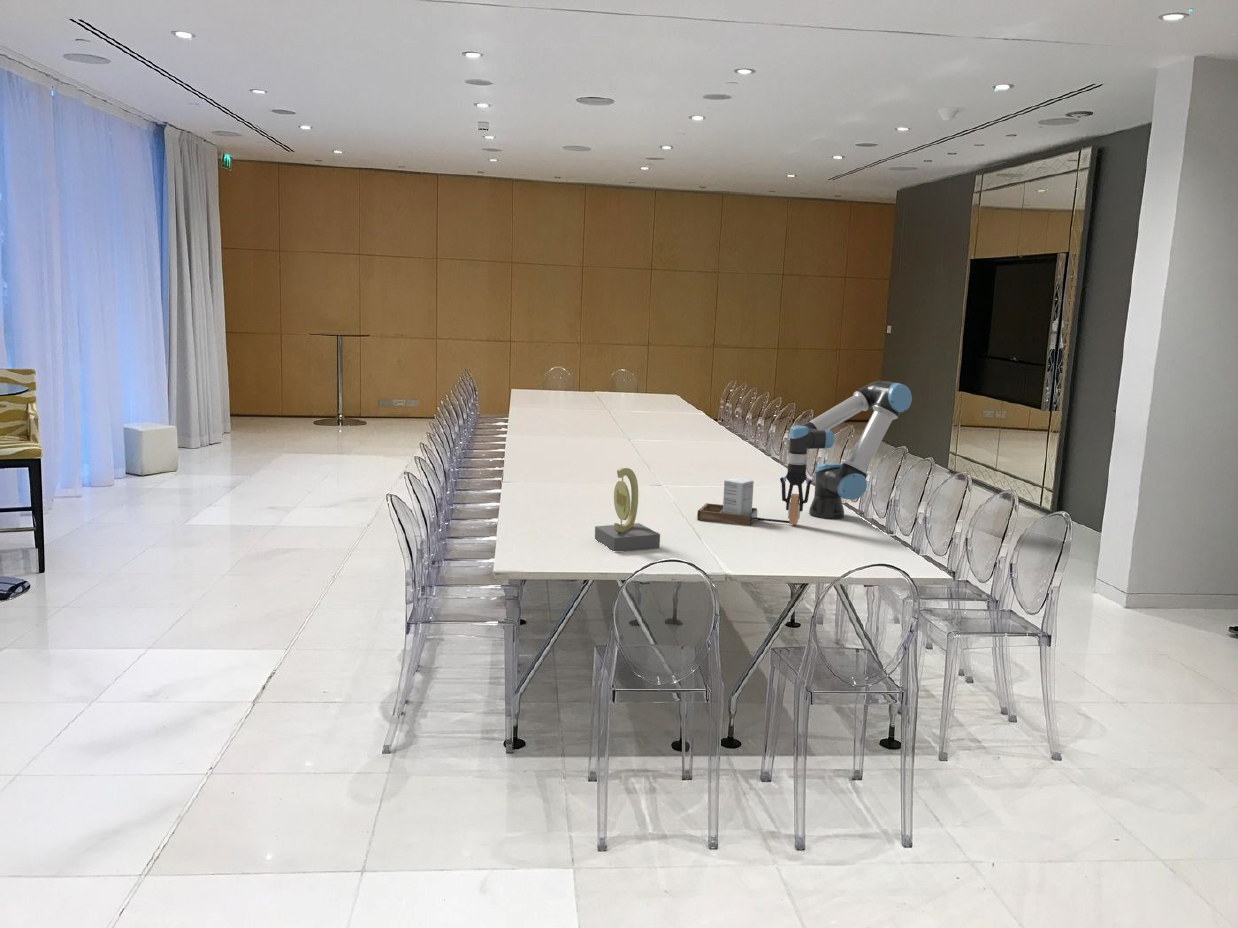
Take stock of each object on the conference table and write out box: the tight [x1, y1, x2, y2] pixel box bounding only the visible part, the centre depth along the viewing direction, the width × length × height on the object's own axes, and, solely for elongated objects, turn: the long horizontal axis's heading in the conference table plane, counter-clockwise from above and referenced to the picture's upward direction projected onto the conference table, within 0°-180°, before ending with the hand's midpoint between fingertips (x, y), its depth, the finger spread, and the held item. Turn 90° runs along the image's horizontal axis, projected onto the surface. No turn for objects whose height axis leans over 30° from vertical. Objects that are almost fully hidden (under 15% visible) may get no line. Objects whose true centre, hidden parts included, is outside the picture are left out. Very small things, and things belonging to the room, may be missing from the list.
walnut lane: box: [696, 502, 758, 526], centre depth 427 cm, size 17×22×4 cm
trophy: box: [594, 467, 661, 552], centre depth 377 cm, size 19×19×30 cm
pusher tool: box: [720, 493, 800, 525], centre depth 422 cm, size 13×32×12 cm, turn 72°
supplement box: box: [722, 477, 755, 515], centre depth 424 cm, size 10×9×17 cm
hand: (793, 518), depth 418 cm, fingers closed on pusher tool, 3 cm apart
